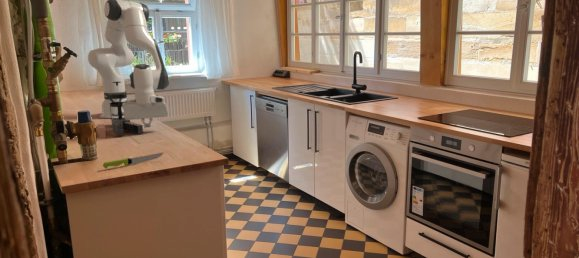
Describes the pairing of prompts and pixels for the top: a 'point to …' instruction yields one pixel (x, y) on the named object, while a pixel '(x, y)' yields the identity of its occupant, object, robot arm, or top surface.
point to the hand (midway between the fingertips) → (147, 127)
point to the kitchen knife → (132, 160)
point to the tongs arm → (133, 127)
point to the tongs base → (118, 126)
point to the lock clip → (101, 130)
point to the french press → (117, 104)
